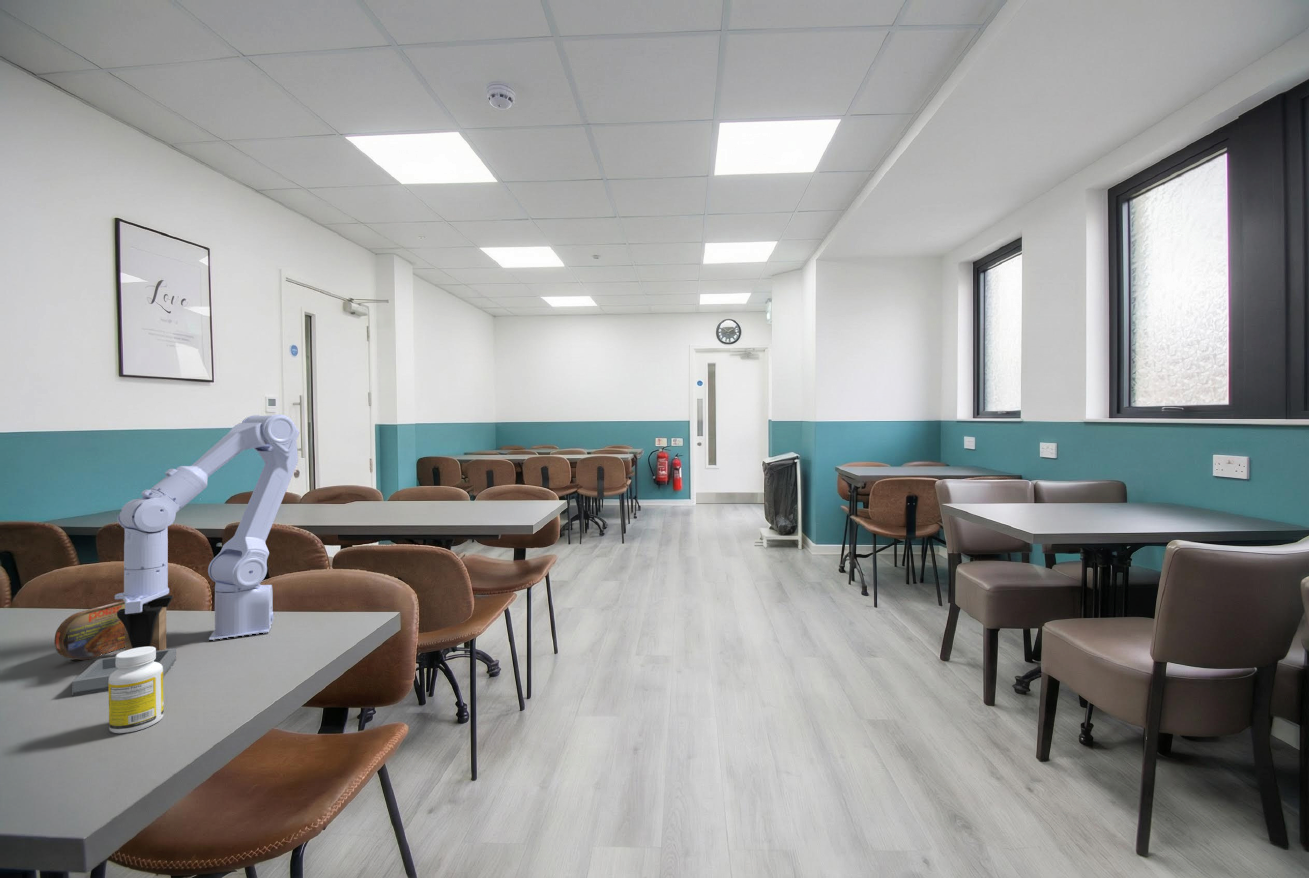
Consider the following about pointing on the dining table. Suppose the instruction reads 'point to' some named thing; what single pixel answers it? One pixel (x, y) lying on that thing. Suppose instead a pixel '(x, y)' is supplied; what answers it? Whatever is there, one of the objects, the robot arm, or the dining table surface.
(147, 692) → the supplement bottle
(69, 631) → the tin
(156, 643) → the block
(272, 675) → the dining table surface
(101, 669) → the tray
